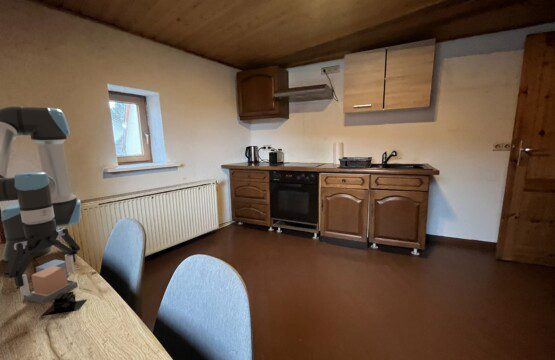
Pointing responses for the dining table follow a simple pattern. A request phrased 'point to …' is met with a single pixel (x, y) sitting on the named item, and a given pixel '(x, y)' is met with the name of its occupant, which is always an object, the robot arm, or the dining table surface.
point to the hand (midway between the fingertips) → (50, 282)
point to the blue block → (53, 263)
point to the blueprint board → (45, 298)
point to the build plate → (64, 304)
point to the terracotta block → (49, 280)
